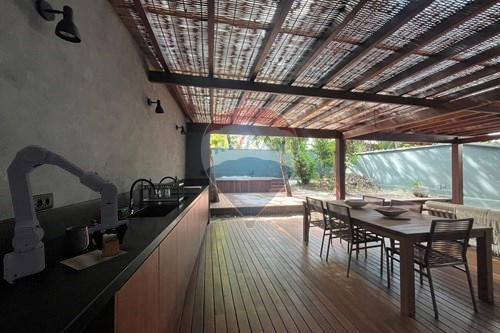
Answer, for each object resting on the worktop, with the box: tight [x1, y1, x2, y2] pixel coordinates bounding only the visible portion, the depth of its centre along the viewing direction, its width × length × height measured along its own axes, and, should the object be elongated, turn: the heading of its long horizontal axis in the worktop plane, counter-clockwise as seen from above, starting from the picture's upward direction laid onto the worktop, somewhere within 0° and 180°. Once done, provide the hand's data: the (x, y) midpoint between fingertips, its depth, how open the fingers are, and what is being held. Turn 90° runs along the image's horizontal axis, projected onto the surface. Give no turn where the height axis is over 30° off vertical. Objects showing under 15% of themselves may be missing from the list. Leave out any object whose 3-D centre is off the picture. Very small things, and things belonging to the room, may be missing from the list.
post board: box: [60, 242, 128, 271], centre depth 85 cm, size 17×15×6 cm
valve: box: [91, 231, 117, 246], centre depth 104 cm, size 7×7×12 cm
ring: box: [102, 238, 120, 256], centre depth 88 cm, size 6×6×5 cm
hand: (110, 246), depth 88 cm, fingers open, 7 cm apart
